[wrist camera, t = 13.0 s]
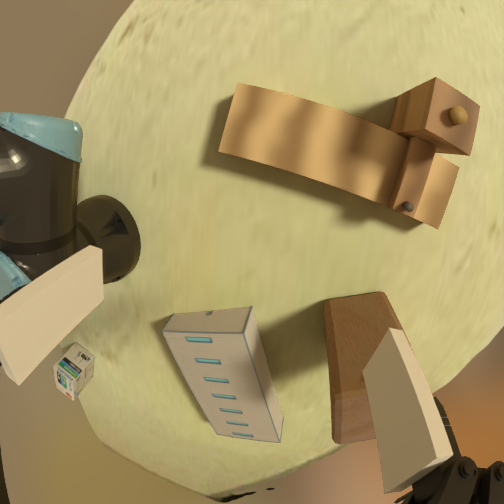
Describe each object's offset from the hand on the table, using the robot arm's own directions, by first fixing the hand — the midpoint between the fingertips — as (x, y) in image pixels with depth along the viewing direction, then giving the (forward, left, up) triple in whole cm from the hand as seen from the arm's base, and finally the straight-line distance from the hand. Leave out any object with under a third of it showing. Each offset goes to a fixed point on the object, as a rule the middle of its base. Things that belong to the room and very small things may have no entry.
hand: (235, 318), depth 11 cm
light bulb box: (-36, -52, -28) cm, 69 cm away
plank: (+6, +9, -28) cm, 30 cm away
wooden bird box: (+14, +12, -28) cm, 33 cm away
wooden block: (+17, -14, -28) cm, 35 cm away
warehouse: (+2, -34, -28) cm, 44 cm away
